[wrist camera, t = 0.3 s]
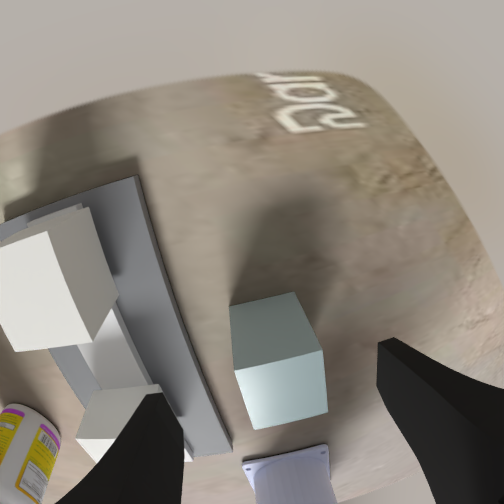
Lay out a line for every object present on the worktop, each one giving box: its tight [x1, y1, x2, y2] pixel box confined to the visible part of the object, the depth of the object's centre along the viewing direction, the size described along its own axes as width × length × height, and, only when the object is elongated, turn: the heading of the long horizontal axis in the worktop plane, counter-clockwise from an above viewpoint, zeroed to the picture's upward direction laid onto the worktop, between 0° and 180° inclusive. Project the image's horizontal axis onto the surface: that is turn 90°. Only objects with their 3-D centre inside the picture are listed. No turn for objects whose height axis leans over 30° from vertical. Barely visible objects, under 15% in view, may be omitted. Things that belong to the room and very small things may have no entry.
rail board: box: [0, 175, 233, 463], centre depth 17 cm, size 22×10×6 cm, turn 12°
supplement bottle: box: [0, 404, 61, 504], centre depth 16 cm, size 7×7×13 cm
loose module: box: [229, 292, 328, 430], centre depth 17 cm, size 4×4×6 cm
